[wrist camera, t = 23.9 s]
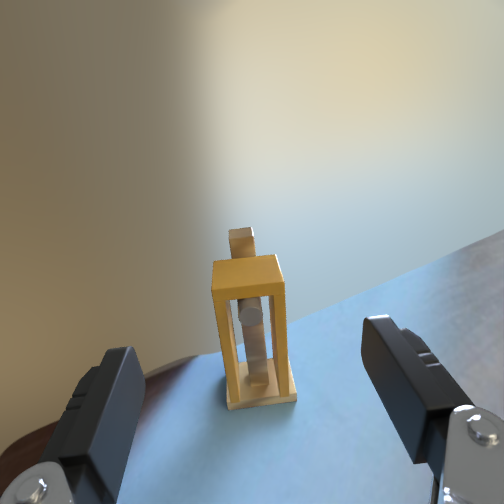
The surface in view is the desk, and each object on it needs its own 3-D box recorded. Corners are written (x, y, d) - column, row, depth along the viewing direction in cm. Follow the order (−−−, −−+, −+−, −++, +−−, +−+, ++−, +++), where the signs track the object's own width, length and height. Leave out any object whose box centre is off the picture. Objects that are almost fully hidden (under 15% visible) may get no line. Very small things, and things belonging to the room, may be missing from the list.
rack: (228, 462, 27) (188, 287, 19) (227, 371, 36) (200, 226, 28) (308, 451, 27) (302, 273, 19) (288, 363, 36) (278, 216, 28)
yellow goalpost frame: (230, 404, 25) (211, 289, 20) (230, 365, 29) (213, 260, 24) (289, 396, 25) (284, 281, 21) (281, 359, 29) (275, 253, 24)
